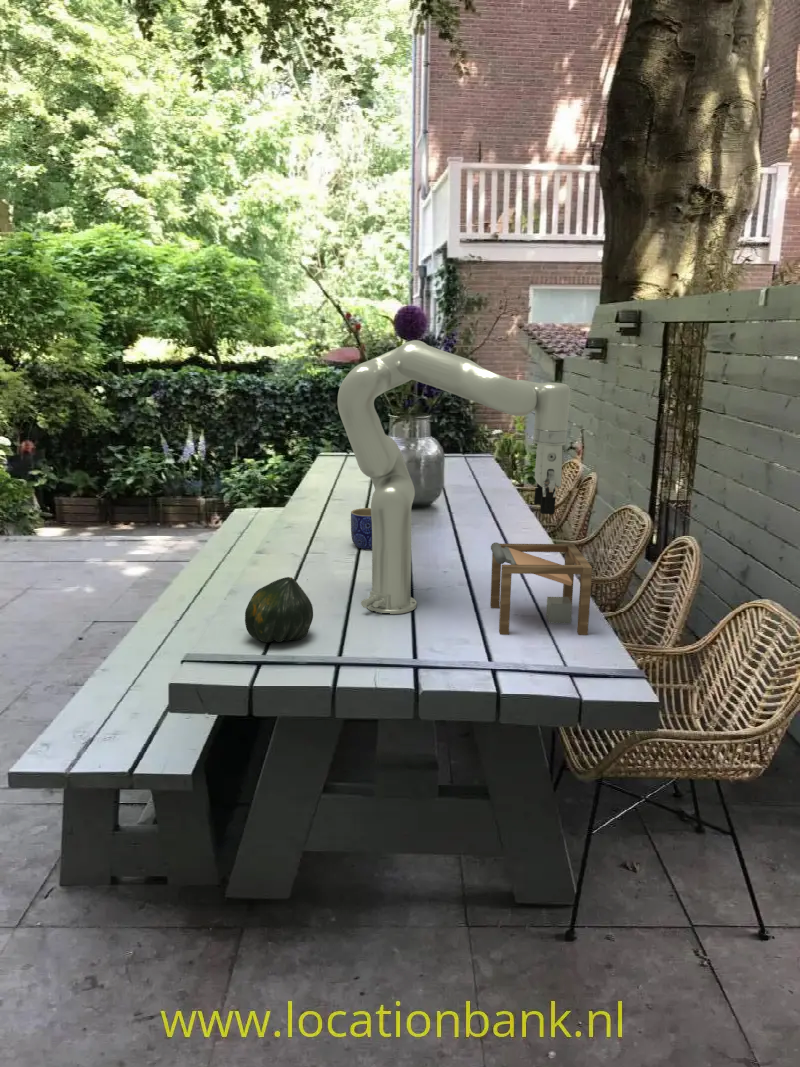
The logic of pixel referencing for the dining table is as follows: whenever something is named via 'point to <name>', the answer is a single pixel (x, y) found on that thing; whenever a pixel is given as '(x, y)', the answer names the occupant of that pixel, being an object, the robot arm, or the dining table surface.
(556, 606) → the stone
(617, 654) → the dining table surface
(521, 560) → the trapdoor
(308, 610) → the squash
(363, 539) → the planter
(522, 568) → the frame
